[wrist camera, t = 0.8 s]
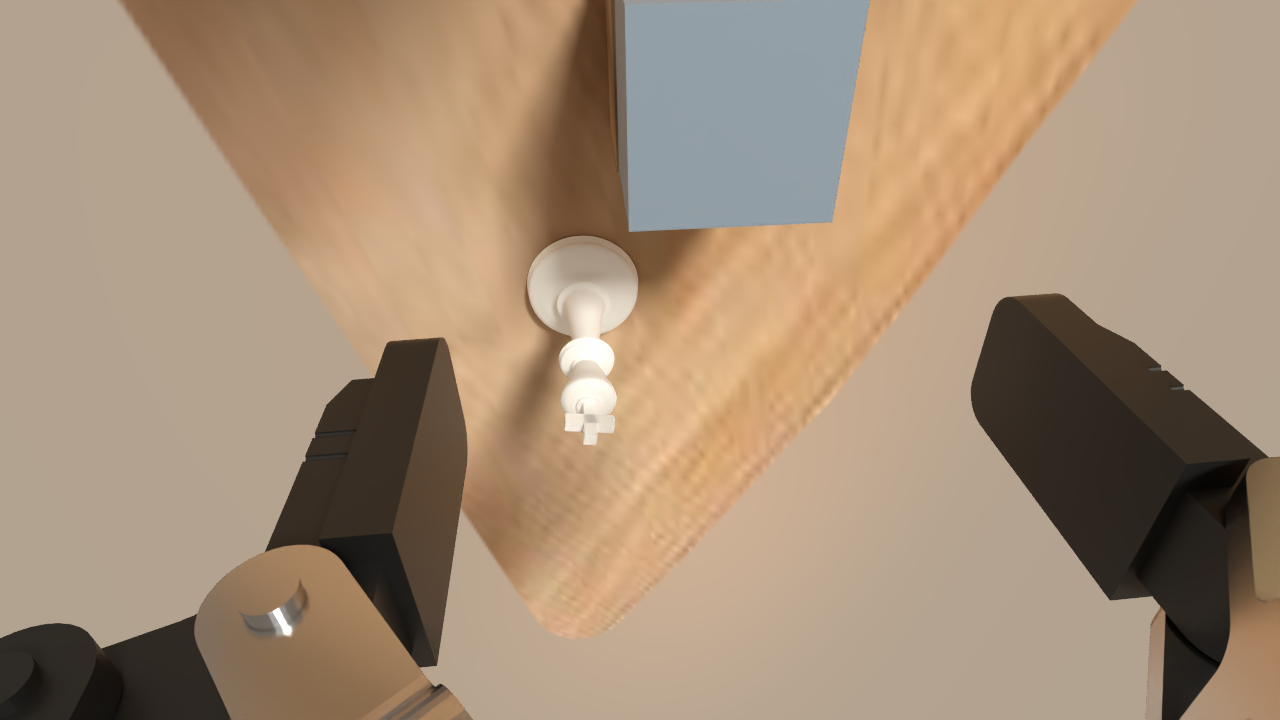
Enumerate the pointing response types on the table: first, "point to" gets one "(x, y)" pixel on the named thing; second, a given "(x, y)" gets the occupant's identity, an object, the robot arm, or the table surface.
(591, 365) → the chess piece
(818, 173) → the slate-blue block
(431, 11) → the table surface
